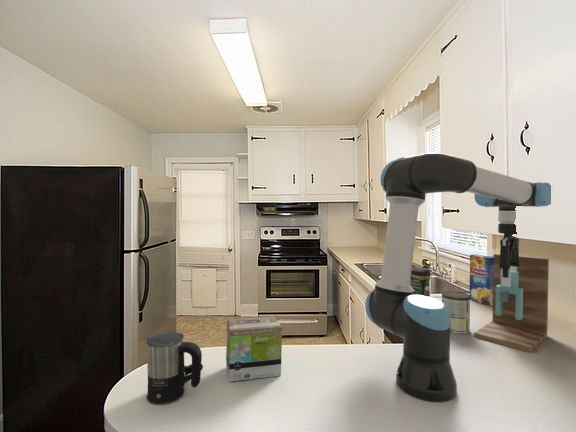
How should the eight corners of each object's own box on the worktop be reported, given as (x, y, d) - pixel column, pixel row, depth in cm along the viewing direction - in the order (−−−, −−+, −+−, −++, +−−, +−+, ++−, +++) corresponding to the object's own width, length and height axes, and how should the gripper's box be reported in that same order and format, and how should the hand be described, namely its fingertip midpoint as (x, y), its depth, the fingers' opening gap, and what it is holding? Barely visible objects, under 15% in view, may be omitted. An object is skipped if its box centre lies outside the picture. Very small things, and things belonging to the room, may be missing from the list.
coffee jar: (406, 302, 171) (406, 266, 170) (416, 300, 175) (416, 265, 175) (423, 307, 162) (423, 269, 162) (432, 305, 167) (433, 268, 166)
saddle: (520, 320, 119) (521, 273, 119) (495, 314, 125) (495, 270, 125) (522, 318, 121) (523, 272, 121) (497, 313, 127) (498, 269, 127)
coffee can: (437, 324, 139) (438, 290, 139) (463, 325, 138) (463, 291, 138) (446, 333, 129) (447, 297, 128) (474, 334, 128) (475, 298, 127)
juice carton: (500, 304, 169) (501, 257, 168) (489, 305, 166) (490, 257, 166) (479, 298, 180) (480, 254, 180) (469, 299, 178) (469, 254, 177)
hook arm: (507, 302, 119) (507, 292, 118) (499, 301, 120) (500, 291, 120) (522, 294, 130) (522, 285, 130) (514, 293, 132) (515, 284, 132)
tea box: (229, 383, 91) (229, 330, 90) (225, 367, 100) (225, 318, 100) (282, 376, 95) (282, 325, 94) (274, 361, 104) (274, 314, 104)
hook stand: (531, 352, 112) (533, 265, 111) (473, 336, 125) (475, 258, 125) (547, 336, 126) (548, 258, 125) (494, 323, 140) (495, 253, 139)
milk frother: (143, 408, 80) (142, 347, 79) (151, 376, 95) (151, 324, 94) (204, 399, 83) (204, 341, 83) (202, 370, 99) (202, 320, 98)
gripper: (514, 224, 114) (512, 290, 114) (529, 222, 126) (528, 282, 127) (489, 223, 119) (488, 286, 120) (507, 222, 132) (506, 279, 132)
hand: (509, 284), depth 123 cm, fingers open, 7 cm apart
